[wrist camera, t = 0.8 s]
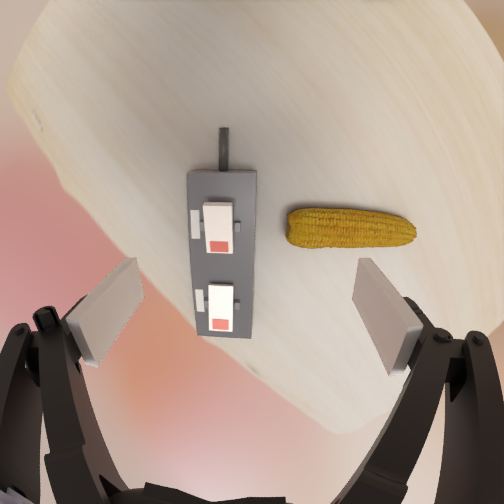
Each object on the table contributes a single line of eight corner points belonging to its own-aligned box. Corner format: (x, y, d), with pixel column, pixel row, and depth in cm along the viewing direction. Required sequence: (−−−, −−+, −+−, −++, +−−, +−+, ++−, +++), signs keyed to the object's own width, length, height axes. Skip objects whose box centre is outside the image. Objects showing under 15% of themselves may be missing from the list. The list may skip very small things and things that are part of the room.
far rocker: (208, 283, 39) (207, 285, 38) (234, 284, 39) (233, 286, 38) (209, 327, 40) (207, 330, 39) (234, 329, 40) (233, 332, 39)
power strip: (194, 129, 35) (184, 127, 31) (257, 129, 35) (257, 126, 30) (201, 321, 47) (196, 338, 42) (252, 324, 47) (251, 342, 42)
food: (284, 240, 41) (287, 255, 36) (284, 203, 39) (288, 213, 34) (406, 240, 40) (423, 254, 35) (411, 208, 38) (430, 218, 33)
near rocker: (203, 202, 33) (201, 206, 32) (233, 202, 33) (232, 206, 32) (207, 248, 37) (205, 253, 36) (234, 249, 37) (233, 254, 36)
